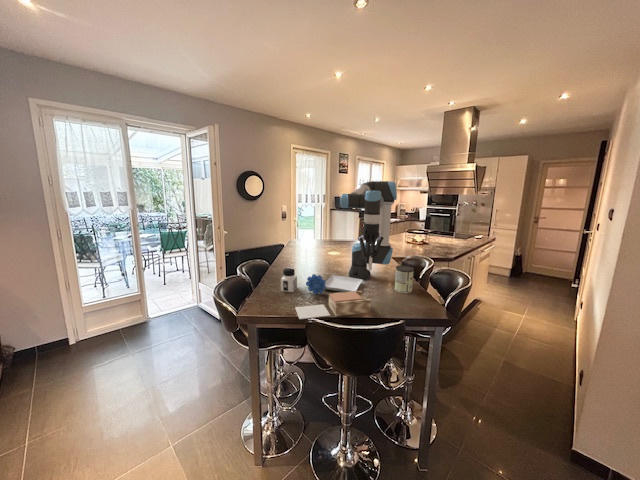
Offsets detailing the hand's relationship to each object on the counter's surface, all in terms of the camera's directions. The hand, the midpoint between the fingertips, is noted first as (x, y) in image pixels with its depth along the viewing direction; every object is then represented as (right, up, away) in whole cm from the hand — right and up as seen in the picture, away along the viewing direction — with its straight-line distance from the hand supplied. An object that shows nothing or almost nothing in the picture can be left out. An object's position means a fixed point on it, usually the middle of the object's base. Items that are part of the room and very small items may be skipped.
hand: (369, 269), depth 131 cm
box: (-10, -20, +2) cm, 23 cm away
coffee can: (+26, -16, +27) cm, 41 cm away
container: (-43, -15, +25) cm, 52 cm away
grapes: (-27, -17, +18) cm, 37 cm away
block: (-12, -15, 0) cm, 19 cm away
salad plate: (-11, -15, +31) cm, 36 cm away
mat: (-29, -21, -2) cm, 35 cm away
